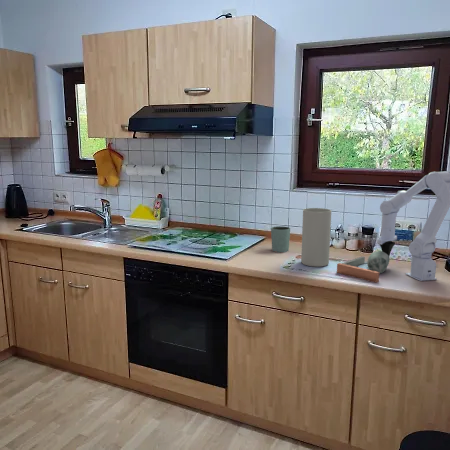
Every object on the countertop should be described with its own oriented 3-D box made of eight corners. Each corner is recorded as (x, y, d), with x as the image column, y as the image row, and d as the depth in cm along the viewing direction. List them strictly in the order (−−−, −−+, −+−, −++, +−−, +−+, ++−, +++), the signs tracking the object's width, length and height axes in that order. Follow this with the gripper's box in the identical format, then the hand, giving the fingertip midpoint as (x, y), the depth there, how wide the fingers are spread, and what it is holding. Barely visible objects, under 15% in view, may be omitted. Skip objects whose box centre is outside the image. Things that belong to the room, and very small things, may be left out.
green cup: (280, 253, 211) (281, 230, 209) (266, 250, 219) (266, 227, 216) (293, 250, 217) (294, 228, 215) (279, 247, 225) (280, 225, 223)
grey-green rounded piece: (391, 269, 173) (382, 246, 176) (369, 276, 177) (360, 254, 180) (396, 269, 185) (387, 247, 187) (375, 276, 189) (366, 255, 191)
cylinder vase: (331, 261, 196) (334, 209, 192) (325, 268, 185) (328, 212, 181) (305, 258, 202) (307, 207, 197) (297, 265, 191) (299, 210, 186)
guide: (361, 262, 195) (362, 254, 194) (401, 271, 181) (402, 262, 181) (334, 272, 180) (335, 263, 179) (376, 282, 166) (377, 273, 166)
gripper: (387, 224, 192) (385, 253, 195) (371, 228, 183) (369, 258, 185) (402, 226, 187) (400, 256, 190) (387, 231, 178) (384, 261, 180)
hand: (385, 257), depth 187 cm, fingers closed
